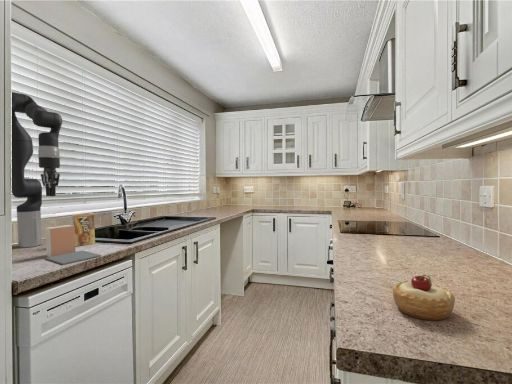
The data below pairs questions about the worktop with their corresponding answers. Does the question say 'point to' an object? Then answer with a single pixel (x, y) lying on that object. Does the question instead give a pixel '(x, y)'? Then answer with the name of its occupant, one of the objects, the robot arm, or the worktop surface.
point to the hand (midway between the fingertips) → (50, 195)
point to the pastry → (423, 299)
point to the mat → (72, 257)
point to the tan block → (60, 240)
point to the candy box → (84, 229)
